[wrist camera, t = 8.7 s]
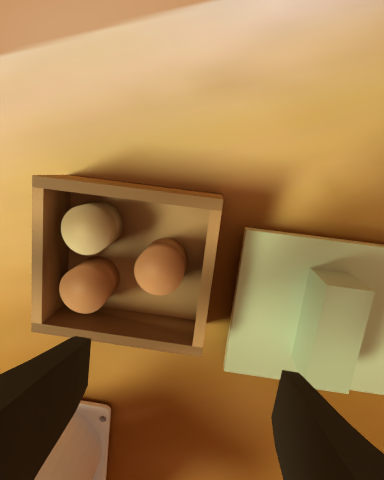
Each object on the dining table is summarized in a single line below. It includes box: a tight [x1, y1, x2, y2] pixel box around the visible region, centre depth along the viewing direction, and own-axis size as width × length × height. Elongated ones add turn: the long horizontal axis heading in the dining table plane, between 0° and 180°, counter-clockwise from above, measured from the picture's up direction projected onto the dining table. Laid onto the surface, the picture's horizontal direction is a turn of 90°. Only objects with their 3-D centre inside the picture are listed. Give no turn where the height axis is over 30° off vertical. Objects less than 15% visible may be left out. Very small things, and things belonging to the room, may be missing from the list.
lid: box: [224, 227, 384, 395], centre depth 19 cm, size 10×11×5 cm
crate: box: [31, 175, 224, 357], centre depth 19 cm, size 9×10×4 cm
